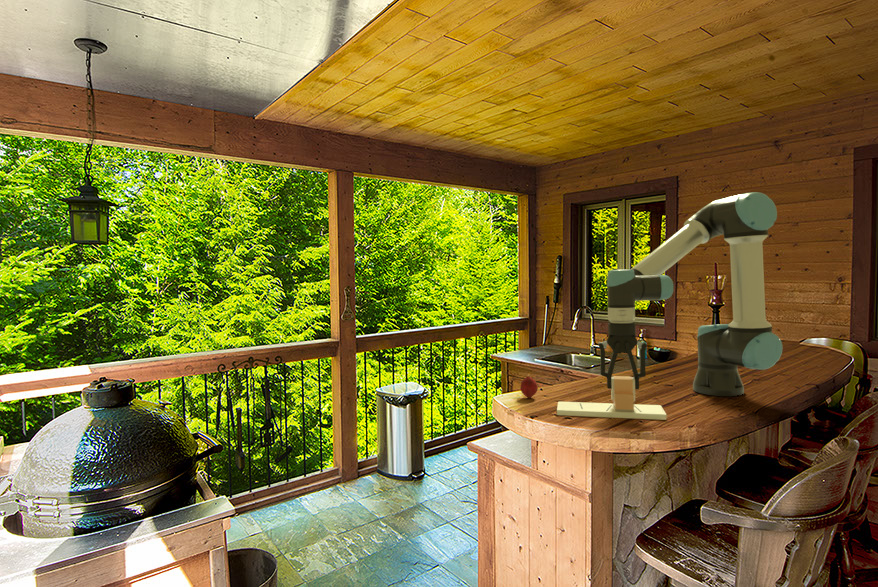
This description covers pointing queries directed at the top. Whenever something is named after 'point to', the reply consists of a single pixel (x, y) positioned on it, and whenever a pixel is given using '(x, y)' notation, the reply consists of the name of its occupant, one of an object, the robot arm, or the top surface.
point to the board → (610, 410)
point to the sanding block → (623, 393)
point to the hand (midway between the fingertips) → (623, 399)
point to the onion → (529, 387)
